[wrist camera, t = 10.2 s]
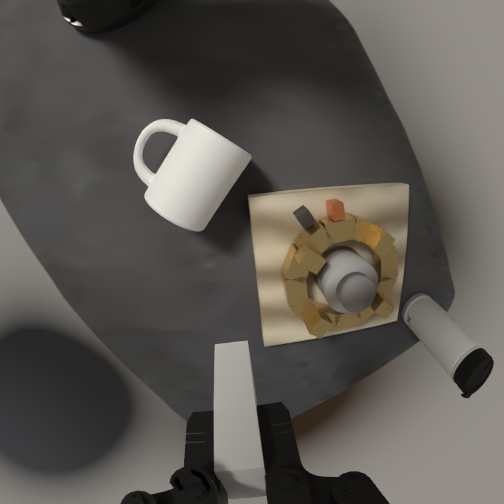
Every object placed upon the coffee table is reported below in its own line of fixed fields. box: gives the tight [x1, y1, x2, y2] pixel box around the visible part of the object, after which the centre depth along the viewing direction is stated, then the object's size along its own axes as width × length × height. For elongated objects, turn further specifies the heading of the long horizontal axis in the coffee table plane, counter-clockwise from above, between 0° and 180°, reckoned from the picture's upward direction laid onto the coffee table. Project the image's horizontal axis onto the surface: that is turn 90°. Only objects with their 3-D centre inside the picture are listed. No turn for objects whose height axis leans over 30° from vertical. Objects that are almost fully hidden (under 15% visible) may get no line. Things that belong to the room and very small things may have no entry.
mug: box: [134, 119, 252, 231], centre depth 31 cm, size 12×10×8 cm
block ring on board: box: [248, 182, 409, 346], centre depth 37 cm, size 22×22×10 cm
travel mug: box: [402, 293, 494, 398], centre depth 37 cm, size 6×7×20 cm
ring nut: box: [281, 199, 398, 339], centre depth 36 cm, size 16×18×5 cm
